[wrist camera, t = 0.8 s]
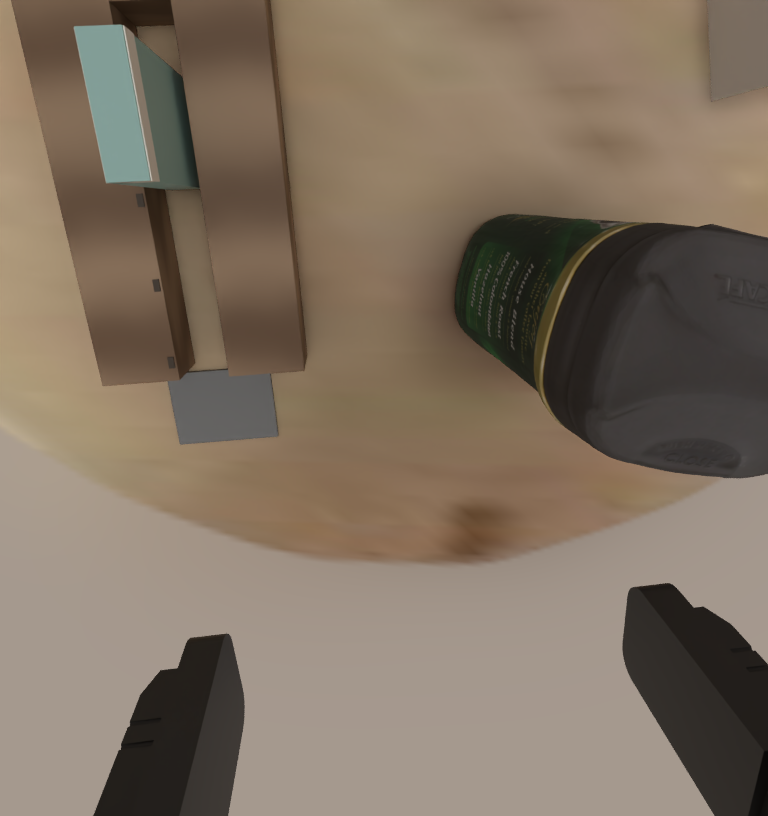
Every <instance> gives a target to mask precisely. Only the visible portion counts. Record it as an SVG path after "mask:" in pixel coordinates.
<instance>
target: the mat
mask: <svg viewBox="0 0 768 816" xmlns="http://www.w3.org/2000/svg"><path fill="white" fill-rule="evenodd" d="M168 385H169V390H170V395H171V401H172V406H173V411H174V416H175V421H176V426H177V431H178V436H179V442H180V444H192V443H204V442H216V441H229V440H241V439H253V438H265V437H277V436H278V428H277V420H276V413H275V405H274V397H273V389H272V382H271V374H256V375H243V376H230V377H229V372H228V369H221V370H207V371H194V372H187V373H186V374H185V375H184V376H183V377H182V378H181V379H180V380H177V381H168Z"/></svg>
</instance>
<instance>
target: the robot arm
mask: <svg viewBox="0 0 768 816" xmlns="http://www.w3.org/2000/svg"><path fill="white" fill-rule="evenodd" d="M623 656H624V661H625V665H626V668H627V671H628V673H629V675H630V677H631V679H632V681H633V683H634V684H635V686H636V687H637V689H638V691H639V692H640V694H641V696H642V697H643V699H644V701H645V702H646V704H647V706H648V707H649V709H650V711H651V712H652V714H653V716H654V717H655V718H656V720H657V722H658V724H659V725H660V727H661V729H662V730H663V732H664V733H665V735H666V737H667V739H668V740H669V742H670V743H671V745H672V747H673V748H674V750H675V752H676V753H677V755H678V757H679V758H680V760H681V761H682V763H683V765H684V766H685V768H686V770H687V771H688V773H689V775H690V776H691V778H692V779H693V781H694V782H695V784H696V786H697V788H698V789H699V791H700V793H701V794H702V796H703V797H704V799H705V801H706V802H707V804H708V806H709V807H710V809H711V811H712V812H713V814H714V815H715V816H768V664H767V663H766V662H765V661H764V660H763V659H762V658H761V656H760V655H759V654H758V653H757V652H756V651H753V650H752V648H751V646H750V644H749V643H748V642H747V641H746V640H745V639H744V638H743V637H742V636H741V635H740V634H739V632H738V631H737V630H736V629H735V628H734V627H733V626H732V625H731V624H730V623H728V622H727V621H725V620H724V619H722V618H720V617H719V616H717V615H716V614H714V613H713V612H711V611H709V610H708V609H706V608H704V607H697V608H693V607H692V605H691V604H690V603H689V602H688V601H687V600H686V598H685V597H684V596H683V595H682V594H681V593H680V591H679V590H678V589H677V588H676V587H675V586H673V585H672V584H670V583H665V584H657V585H649V586H640V587H633V588H631V589H630V590H629V593H628V597H627V607H626V616H625V627H624V635H623ZM243 724H244V693H243V688H242V684H241V679H240V674H239V670H238V665H237V661H236V657H235V652H234V647H233V643H232V639H231V637H230V635H229V634H220V635H211V636H204V637H194V638H190V639H189V640H188V641H187V643H186V646H185V649H184V651H183V654H182V657H181V660H180V663H179V666H178V668H177V669H168V670H160V672H159V673H158V674H157V675H156V676H155V678H154V679H153V680H152V681H151V683H150V684H149V685H148V686H147V688H146V689H145V690H144V691H143V692H142V694H141V695H140V697H139V700H138V702H137V705H136V708H135V710H134V713H133V715H132V718H131V720H130V727H128V728H127V731H126V733H125V736H124V739H123V741H122V743H121V750H119V751H118V754H117V756H116V759H115V761H114V764H113V767H112V769H111V772H110V774H109V777H108V780H107V782H106V785H105V787H104V790H103V792H102V795H101V798H100V800H99V803H98V805H97V808H96V811H95V813H94V815H93V816H228V813H229V807H230V801H231V795H232V790H233V784H234V778H235V772H236V766H237V760H238V755H239V749H240V743H241V737H242V732H243Z"/></svg>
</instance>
